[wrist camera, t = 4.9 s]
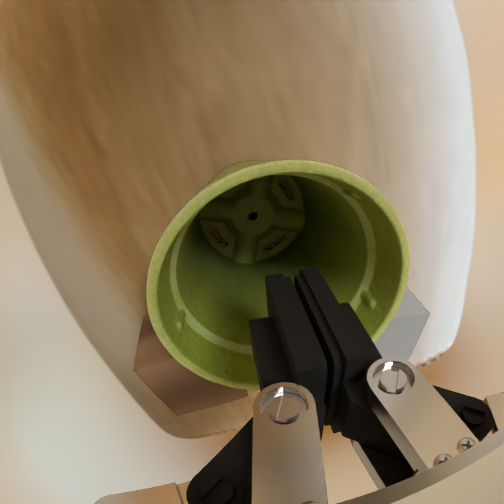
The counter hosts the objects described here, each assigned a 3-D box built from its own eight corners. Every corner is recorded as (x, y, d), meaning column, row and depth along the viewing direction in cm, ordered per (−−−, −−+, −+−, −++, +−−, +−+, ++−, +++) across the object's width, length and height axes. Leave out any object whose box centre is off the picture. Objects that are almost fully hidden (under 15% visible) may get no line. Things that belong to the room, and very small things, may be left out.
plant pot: (271, 94, 15) (333, 96, 8) (357, 222, 20) (435, 303, 12) (136, 202, 17) (89, 290, 9) (238, 306, 21) (258, 415, 14)
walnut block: (143, 316, 21) (133, 370, 16) (210, 291, 20) (213, 345, 16) (178, 362, 23) (176, 415, 19) (239, 342, 23) (247, 395, 18)
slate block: (318, 262, 21) (354, 321, 15) (384, 262, 21) (430, 313, 16) (305, 323, 23) (331, 385, 18) (367, 318, 24) (401, 373, 18)
